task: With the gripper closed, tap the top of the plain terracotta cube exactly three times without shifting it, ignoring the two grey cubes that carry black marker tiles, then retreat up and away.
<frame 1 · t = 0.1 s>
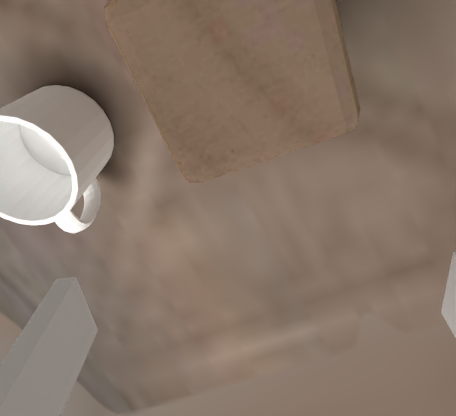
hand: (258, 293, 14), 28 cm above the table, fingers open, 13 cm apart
block: (243, 27, 35), on the table
mug: (76, 142, 42), on the table
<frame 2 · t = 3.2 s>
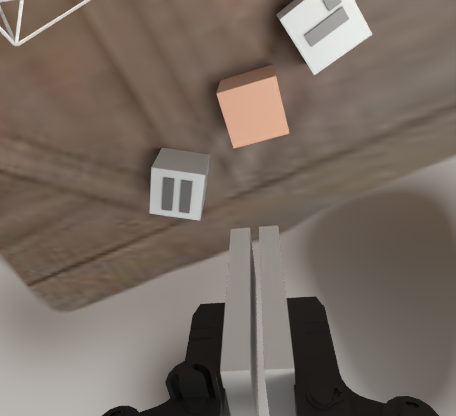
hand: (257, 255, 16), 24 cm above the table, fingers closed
marked cube b: (316, 20, 33), on the table
marked cube a: (184, 172, 41), on the table
plain cube: (253, 98, 37), on the table
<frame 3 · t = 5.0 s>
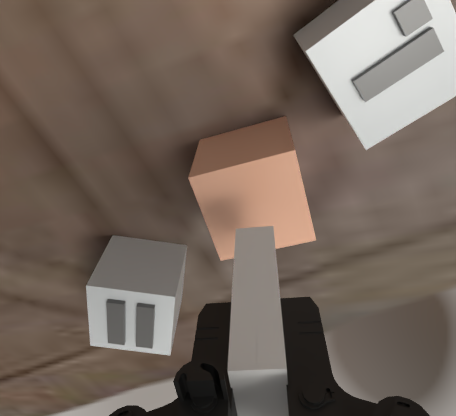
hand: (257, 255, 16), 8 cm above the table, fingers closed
marked cube b: (362, 45, 19), on the table
marked cube a: (149, 268, 27), on the table
plain cube: (253, 166, 23), on the table
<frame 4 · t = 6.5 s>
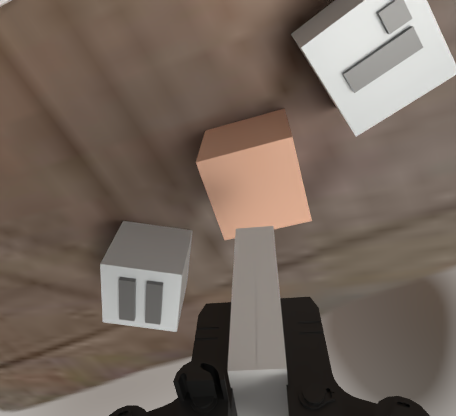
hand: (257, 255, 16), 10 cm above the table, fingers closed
marked cube b: (354, 43, 21), on the table
marked cube a: (156, 252, 29), on the table
plain cube: (254, 156, 25), on the table
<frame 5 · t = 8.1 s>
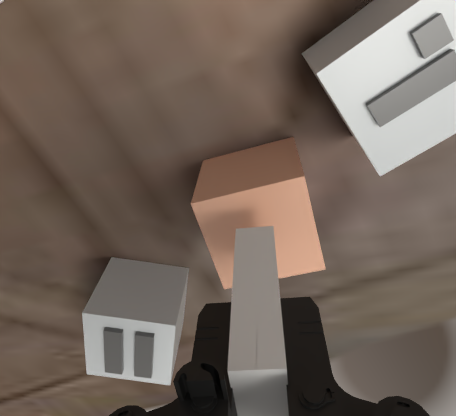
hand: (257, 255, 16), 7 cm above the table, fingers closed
marked cube b: (374, 64, 18), on the table
marked cube a: (149, 291, 26), on the table
plain cube: (259, 188, 22), on the table
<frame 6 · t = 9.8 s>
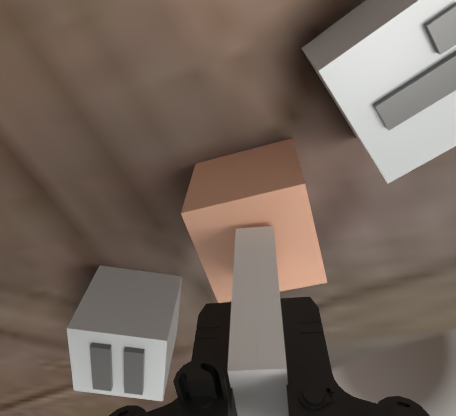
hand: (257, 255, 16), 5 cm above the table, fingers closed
marked cube b: (380, 60, 17), on the table
marked cube a: (140, 300, 25), on the table
plain cube: (255, 193, 21), on the table
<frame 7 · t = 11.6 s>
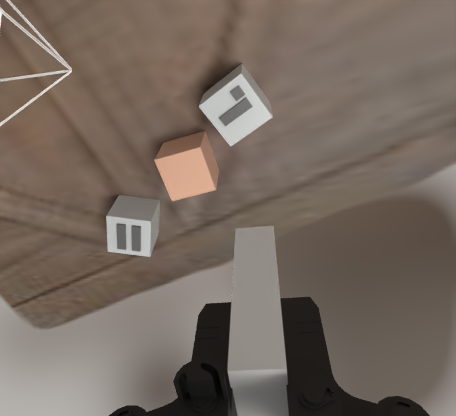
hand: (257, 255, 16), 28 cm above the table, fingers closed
marked cube b: (237, 97, 41), on the table
geometric polyhedron: (13, 45, 40), on the table
marked cube a: (139, 214, 49), on the table
plain cube: (191, 156, 45), on the table
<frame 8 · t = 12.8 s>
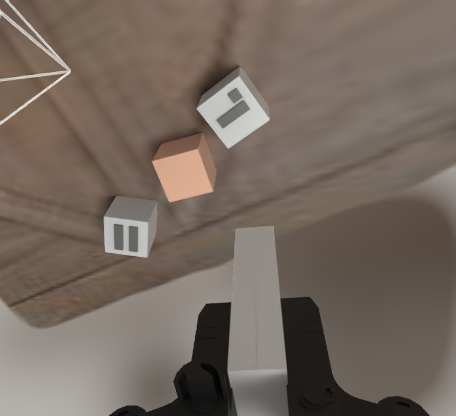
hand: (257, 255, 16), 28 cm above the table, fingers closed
marked cube b: (235, 100, 41), on the table
geometric polyhedron: (12, 45, 40), on the table
marked cube a: (137, 215, 49), on the table
plain cube: (189, 157, 45), on the table
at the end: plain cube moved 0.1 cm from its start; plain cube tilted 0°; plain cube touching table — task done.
